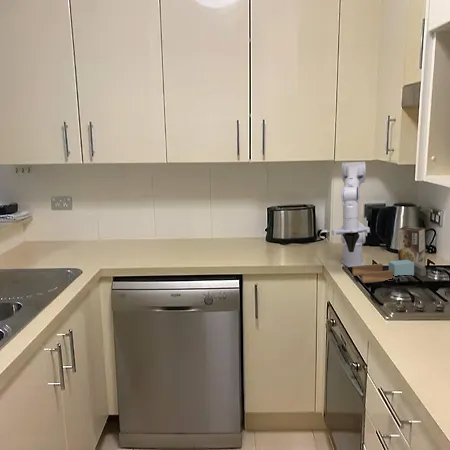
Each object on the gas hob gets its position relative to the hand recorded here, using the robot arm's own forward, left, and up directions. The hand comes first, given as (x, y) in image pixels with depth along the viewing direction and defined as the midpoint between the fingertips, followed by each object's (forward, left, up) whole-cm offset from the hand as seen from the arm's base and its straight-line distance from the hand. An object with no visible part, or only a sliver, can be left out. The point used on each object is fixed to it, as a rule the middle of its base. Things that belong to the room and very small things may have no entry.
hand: (351, 251), depth 186 cm
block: (+3, +19, -10) cm, 22 cm away
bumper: (+3, +27, -10) cm, 29 cm away
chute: (+3, +8, -10) cm, 13 cm away
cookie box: (-6, +29, -11) cm, 31 cm away
